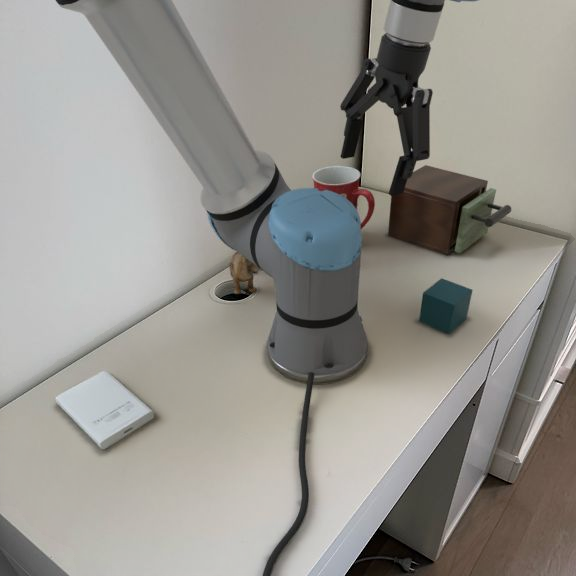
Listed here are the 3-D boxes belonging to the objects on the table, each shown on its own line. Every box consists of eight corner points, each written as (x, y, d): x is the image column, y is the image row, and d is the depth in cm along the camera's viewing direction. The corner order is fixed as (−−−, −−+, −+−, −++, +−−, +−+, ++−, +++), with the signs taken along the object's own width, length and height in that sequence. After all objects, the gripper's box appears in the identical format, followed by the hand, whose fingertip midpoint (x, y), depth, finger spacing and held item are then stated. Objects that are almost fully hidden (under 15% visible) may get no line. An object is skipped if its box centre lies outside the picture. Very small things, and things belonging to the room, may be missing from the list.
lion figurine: (264, 302, 94) (260, 256, 88) (233, 305, 94) (227, 259, 88) (258, 260, 105) (254, 216, 99) (231, 263, 105) (225, 219, 99)
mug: (304, 244, 109) (302, 177, 100) (331, 227, 114) (331, 161, 105) (355, 262, 103) (358, 193, 94) (382, 243, 108) (387, 176, 99)
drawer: (507, 239, 105) (518, 195, 99) (481, 260, 99) (491, 215, 93) (431, 216, 114) (437, 174, 108) (403, 234, 108) (408, 191, 102)
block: (466, 318, 88) (472, 289, 84) (448, 334, 85) (454, 305, 81) (436, 306, 91) (441, 277, 87) (418, 321, 88) (422, 292, 84)
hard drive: (108, 377, 81) (155, 417, 74) (58, 405, 77) (102, 451, 70) (105, 369, 80) (152, 409, 73) (54, 397, 76) (98, 442, 69)
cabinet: (477, 232, 109) (488, 180, 102) (447, 255, 103) (456, 201, 96) (419, 214, 116) (425, 164, 109) (387, 235, 110) (392, 183, 103)
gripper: (485, 68, 76) (433, 206, 91) (373, 10, 88) (344, 140, 104) (449, 71, 72) (401, 214, 88) (337, 11, 85) (313, 145, 100)
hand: (370, 174), depth 96 cm, fingers open, 13 cm apart
